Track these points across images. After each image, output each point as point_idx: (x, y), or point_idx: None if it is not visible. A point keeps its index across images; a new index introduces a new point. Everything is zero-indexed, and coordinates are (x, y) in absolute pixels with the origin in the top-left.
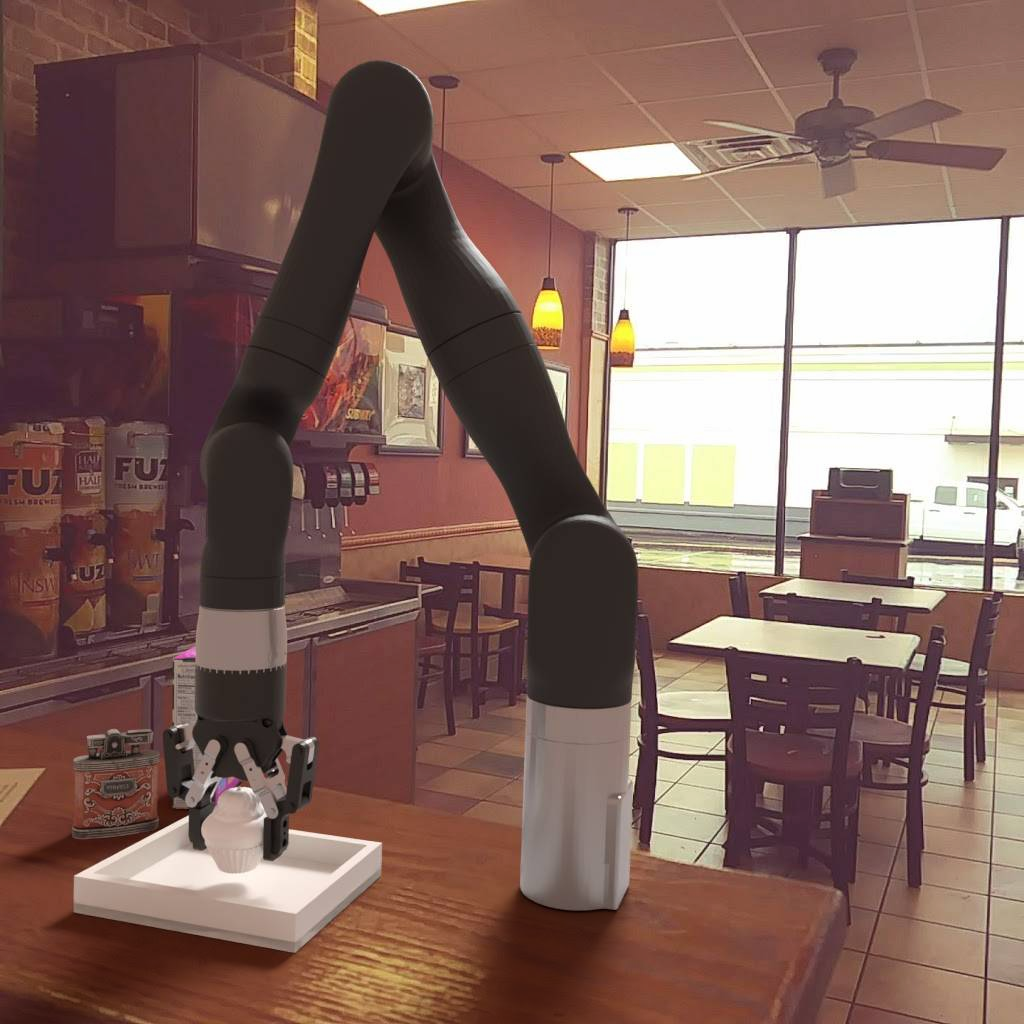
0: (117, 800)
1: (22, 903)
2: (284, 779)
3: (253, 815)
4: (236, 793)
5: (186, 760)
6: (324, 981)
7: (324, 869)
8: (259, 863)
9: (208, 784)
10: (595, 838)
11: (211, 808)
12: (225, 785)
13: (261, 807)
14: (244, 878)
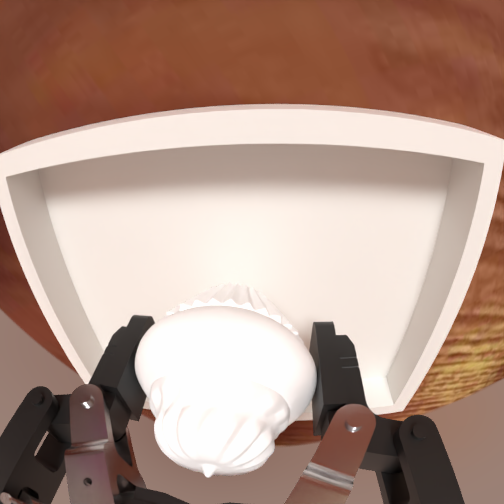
0: None
1: (59, 354)
2: (351, 485)
3: (279, 433)
4: (220, 474)
5: (36, 472)
6: (425, 391)
7: (375, 172)
8: (216, 194)
9: (135, 472)
10: None
11: (126, 386)
12: None
13: (280, 422)
14: (235, 269)
